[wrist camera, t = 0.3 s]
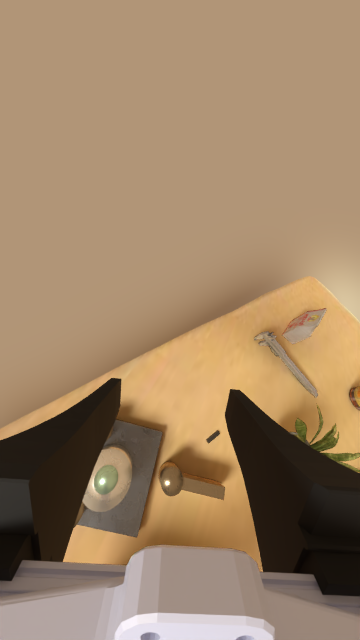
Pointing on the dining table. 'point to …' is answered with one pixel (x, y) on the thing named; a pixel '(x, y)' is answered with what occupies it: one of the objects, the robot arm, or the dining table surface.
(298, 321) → the paper snack bag
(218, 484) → the ball-topped bar
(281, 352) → the caliper
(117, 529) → the levelling base
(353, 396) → the sauce bottle
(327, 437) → the house plant
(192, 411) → the dining table surface
